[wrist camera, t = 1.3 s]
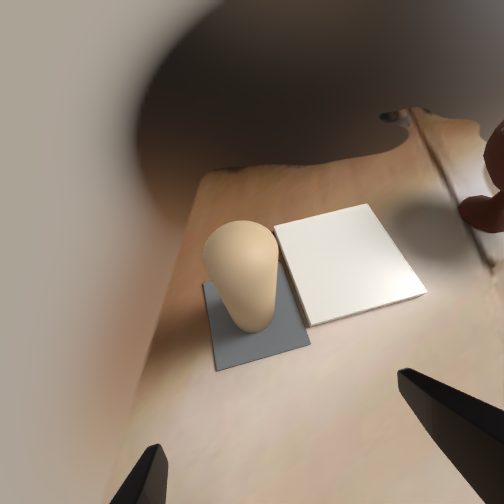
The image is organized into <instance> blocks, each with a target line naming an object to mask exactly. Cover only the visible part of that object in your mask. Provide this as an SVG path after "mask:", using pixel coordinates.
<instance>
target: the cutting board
mask: <svg viewBox="0 0 504 504" xmlns="http://www.w3.org/2000/svg"><path fill="white" fill-rule="evenodd" d="M274 233H275V236H276V238H277V241H278V244H279V246H280V249H281V252H282V254H283V257H284V260H285V262H286V265H287V268H288V270H289V273H290V276H291V278H292V281H293V284H294V286H295V289H296V292H297V294H298V297H299V300H300V302H301V305H302V308H303V310H304V313H305V316H306V318H307V321H308V324H309V326H310V327H312V326H316V325H319V324H323V323H326V322H330V321H333V320H337V319H340V318H344V317H347V316H351V315H355V314H358V313H362V312H365V311H369V310H372V309H376V308H379V307H383V306H387V305H390V304H394V303H397V302H401V301H404V300H408V299H411V298H415V297H418V296H422V295H424V294H425V293H427V290H426V289H425V287H424V286H423V284H422V283H421V282H420V280H419V279H418V277H417V276H416V274H415V273H414V271H413V270H412V268H411V267H410V265H409V264H408V263H407V261H406V260H405V258H404V257H403V255H402V254H401V252H400V251H399V249H398V248H397V246H396V245H395V244H394V242H393V241H392V239H391V238H390V236H389V235H388V233H387V232H386V230H385V229H384V227H383V226H382V225H381V223H380V222H379V220H378V219H377V217H376V216H375V214H374V213H373V211H372V210H371V208H370V207H369V205H368V204H367V203H366V204H362V205H358V206H354V207H350V208H346V209H342V210H338V211H334V212H330V213H326V214H322V215H318V216H314V217H309V218H305V219H301V220H297V221H293V222H289V223H285V224H281V225H277V226H274Z"/></svg>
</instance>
